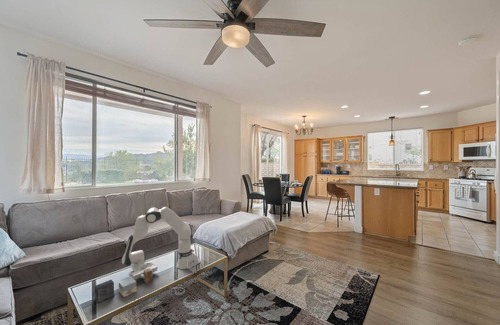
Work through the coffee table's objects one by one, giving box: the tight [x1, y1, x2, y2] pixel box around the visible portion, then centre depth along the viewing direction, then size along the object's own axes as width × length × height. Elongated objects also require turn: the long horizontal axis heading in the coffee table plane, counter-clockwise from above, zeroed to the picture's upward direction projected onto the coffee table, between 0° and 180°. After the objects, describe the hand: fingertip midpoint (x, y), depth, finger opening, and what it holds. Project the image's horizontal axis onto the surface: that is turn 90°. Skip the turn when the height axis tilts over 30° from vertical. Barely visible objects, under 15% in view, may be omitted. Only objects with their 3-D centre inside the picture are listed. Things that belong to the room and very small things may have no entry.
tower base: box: [118, 285, 138, 298], centre depth 158 cm, size 9×9×4 cm
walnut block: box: [143, 268, 153, 284], centre depth 172 cm, size 5×5×9 cm
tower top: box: [118, 276, 137, 292], centre depth 157 cm, size 9×9×4 cm
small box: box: [94, 279, 115, 304], centre depth 150 cm, size 11×6×10 cm, turn 141°
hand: (148, 275), depth 171 cm, fingers closed on walnut block, 5 cm apart
